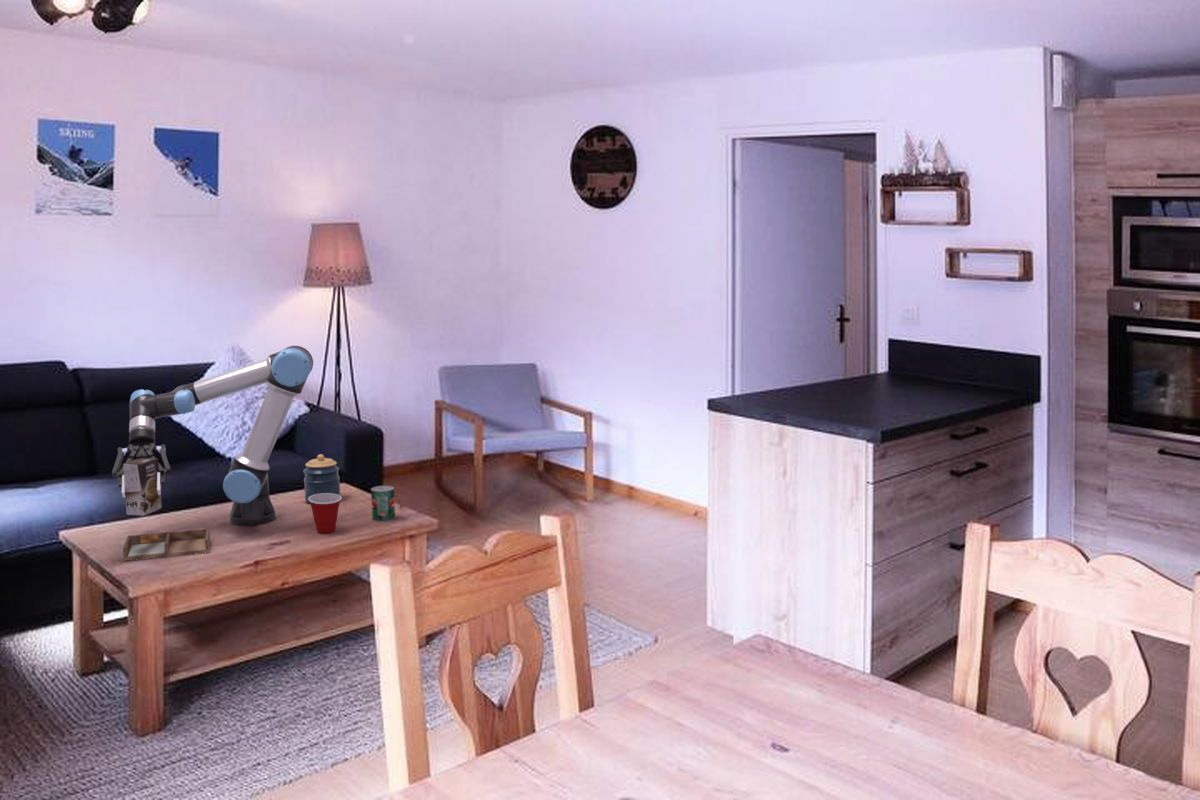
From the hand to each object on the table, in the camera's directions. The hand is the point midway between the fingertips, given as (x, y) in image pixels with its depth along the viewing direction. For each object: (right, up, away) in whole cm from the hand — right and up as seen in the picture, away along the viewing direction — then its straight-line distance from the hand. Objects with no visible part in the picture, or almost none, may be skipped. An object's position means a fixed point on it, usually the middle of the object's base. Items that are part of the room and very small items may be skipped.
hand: (141, 493), depth 311 cm
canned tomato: (+65, -13, +43) cm, 79 cm away
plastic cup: (+49, -15, +28) cm, 58 cm away
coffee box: (-1, -6, +4) cm, 7 cm away
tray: (+5, -19, +8) cm, 21 cm away
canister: (+37, -9, +69) cm, 78 cm away
